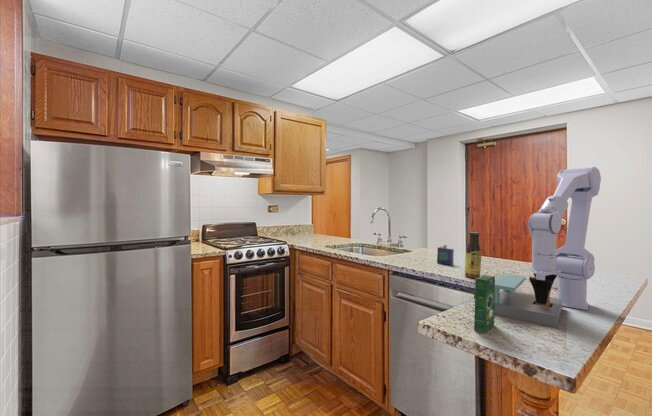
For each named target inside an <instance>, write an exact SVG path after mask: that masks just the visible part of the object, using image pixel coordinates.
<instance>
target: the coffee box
mask: <svg viewBox="0 0 652 416" xmlns="http://www.w3.org/2000/svg"><path fill="white" fill-rule="evenodd" d="M474 279H475V281H474V285H475V286H474V316H473V317H474V320H473V321H474V322H473V330H474V331H475V332H477V333H482V334H484V333H485V334H486V333H487V332H488V331H489V330H490V329H491V328H492V327H493V326H494V325H495V314H494V310H495V279H496V275H491V274H482V275H480V277H478V278H474Z"/></svg>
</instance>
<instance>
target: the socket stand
mask: <svg viewBox="0 0 652 416" xmlns="http://www.w3.org/2000/svg"><path fill="white" fill-rule="evenodd" d="M526 278H527V276H526V275H517V274H511V273H502V274H500V275H499V276H498V277H497V278H496V277H495V310H494V315H497V316H501V317H506V318H510V319H514V320H520V321H524V322H527V323H533V324H538V325H541V326H542V325H543V326H547V327H552V328H558V325H559V323H560V322H559V321H560V319H561V316H562V315H561V314H562V312H563V306H562V299H558V298H557V297H551V296H550V307H546V306H541V305H536V298H535V293H534V294H533V293H527V292H521V291H516V290H518V288H520V286H521V285H522V284H523V283H524V282H525V281H526V280H527V279H526ZM500 290H501V291H500Z"/></svg>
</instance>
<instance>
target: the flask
mask: <svg viewBox="0 0 652 416" xmlns="http://www.w3.org/2000/svg"><path fill="white" fill-rule="evenodd" d="M454 251H455V250H454V248H448V245H447V244H443V246H438V247H437V254H436V255H437V256H436V257H437V258H436V259H437V260H436V262H437V263H436V264H438V265H445V266H450V267H451V266H452V267H453V266H454V253H455V252H454Z"/></svg>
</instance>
